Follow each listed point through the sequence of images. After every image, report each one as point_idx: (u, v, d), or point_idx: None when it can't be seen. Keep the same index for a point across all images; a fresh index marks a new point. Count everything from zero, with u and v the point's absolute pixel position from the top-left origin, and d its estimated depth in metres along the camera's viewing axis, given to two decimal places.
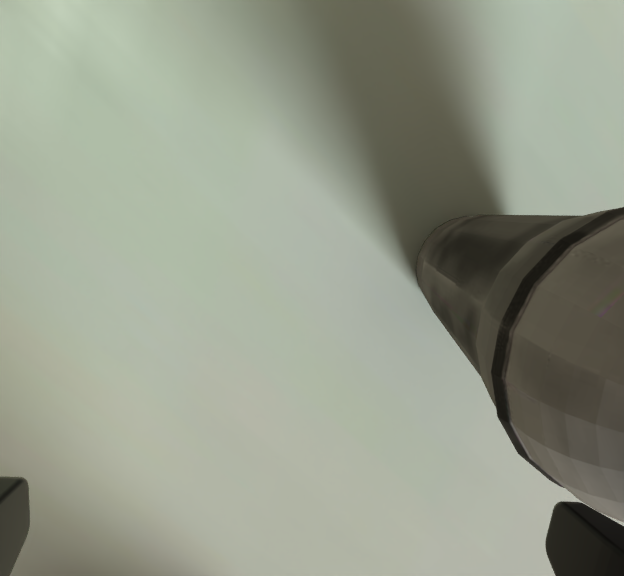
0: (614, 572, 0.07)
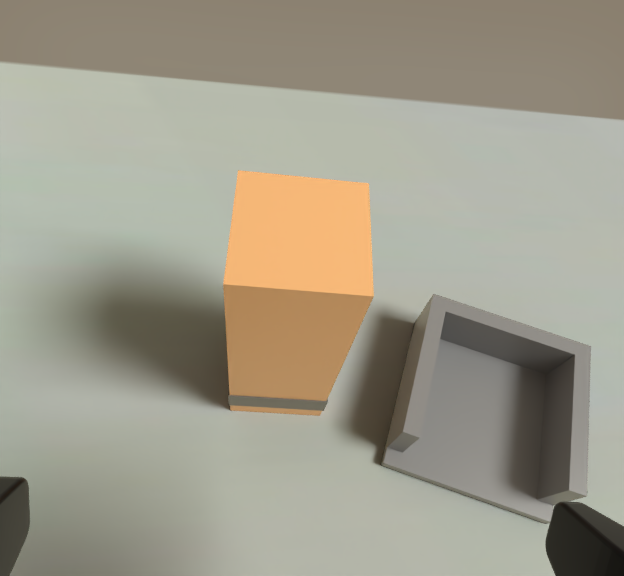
0: (614, 572, 0.07)
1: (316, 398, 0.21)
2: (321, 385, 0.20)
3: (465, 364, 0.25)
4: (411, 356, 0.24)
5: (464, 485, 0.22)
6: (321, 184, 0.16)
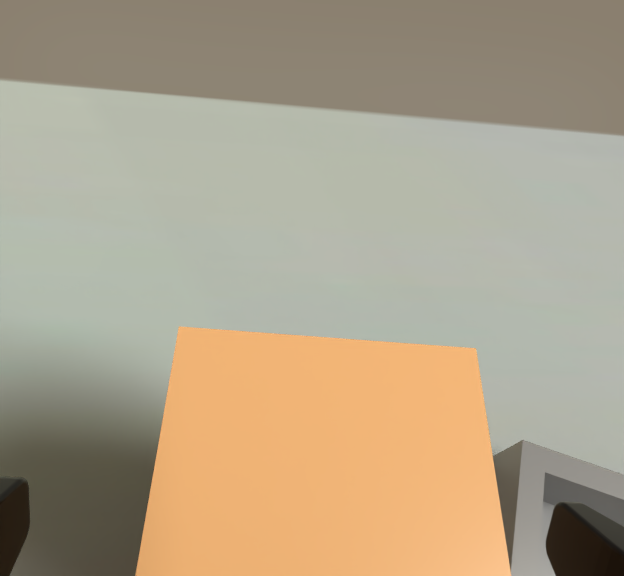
0: (614, 572, 0.07)
1: None
2: None
3: None
4: None
5: None
6: (371, 355, 0.07)
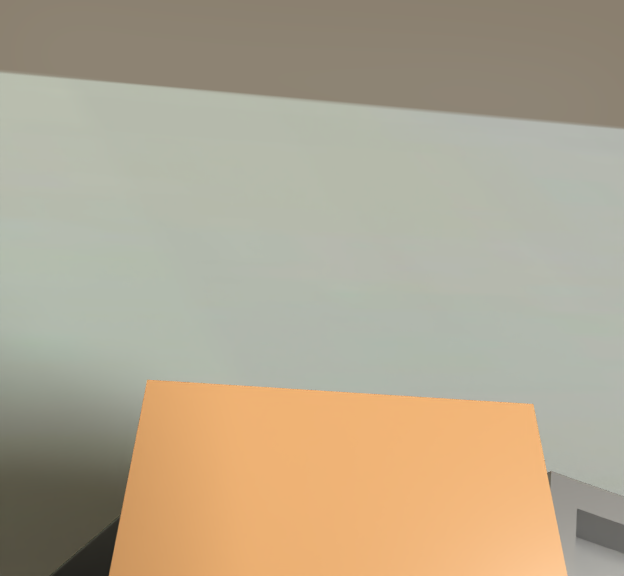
0: None
1: None
2: None
3: None
4: None
5: None
6: (398, 416, 0.05)
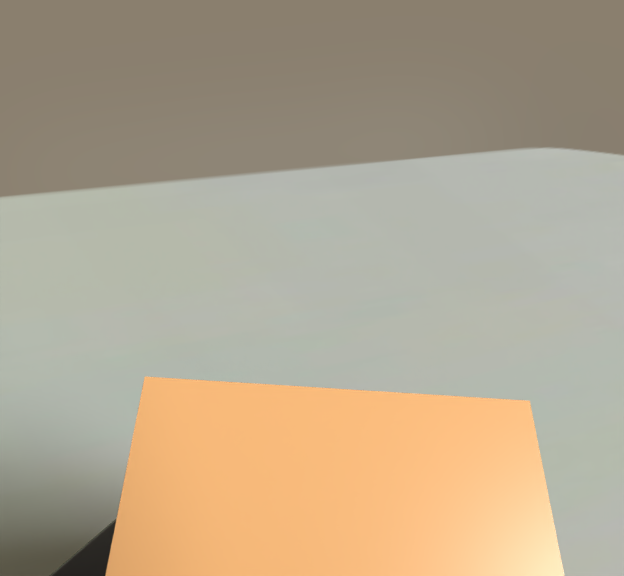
0: None
1: None
2: None
3: None
4: None
5: None
6: (395, 413, 0.05)
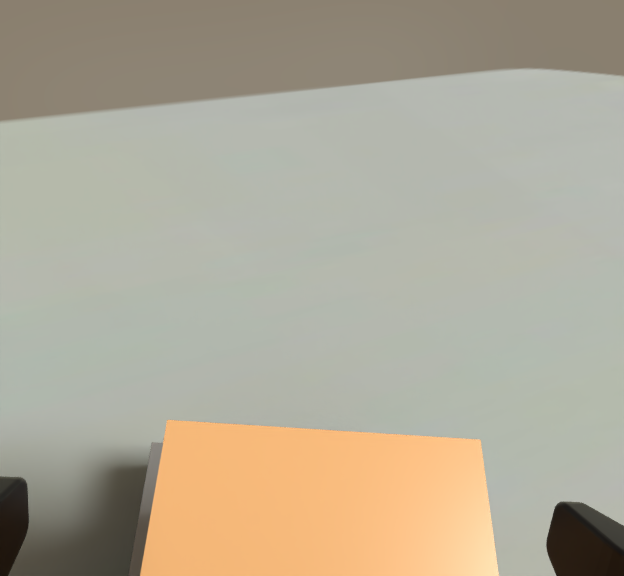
0: (615, 572, 0.07)
1: None
2: None
3: None
4: None
5: None
6: (369, 450, 0.06)
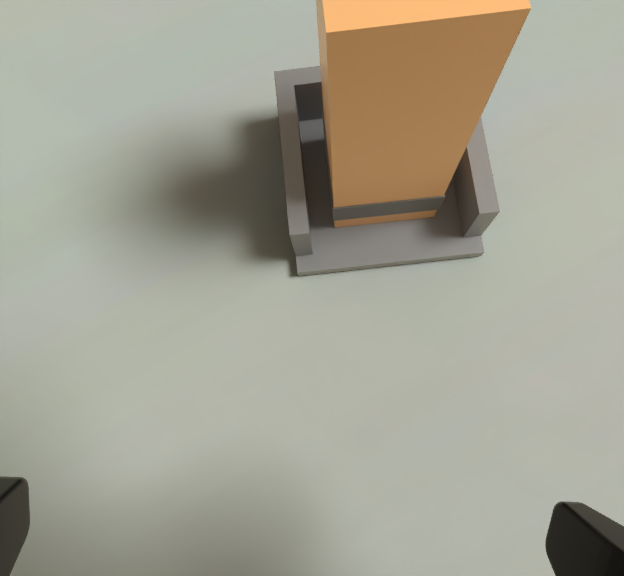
0: (614, 572, 0.07)
1: (432, 194, 0.18)
2: (440, 174, 0.17)
3: None
4: None
5: (385, 257, 0.20)
6: None
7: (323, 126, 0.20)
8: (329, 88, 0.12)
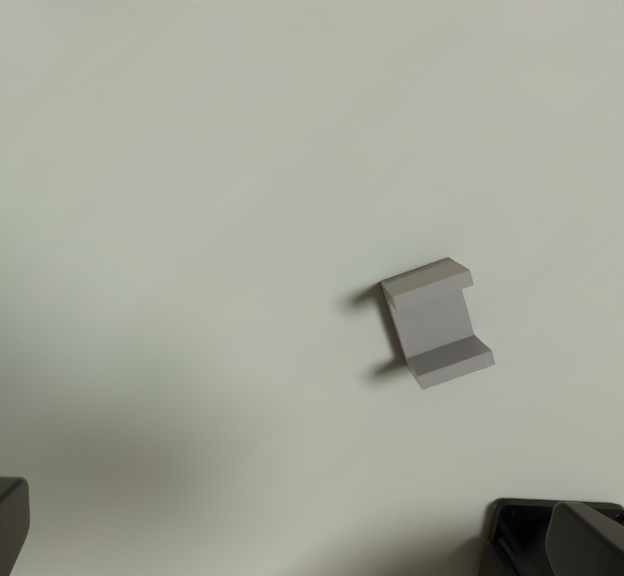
0: (614, 572, 0.07)
1: None
2: None
3: None
4: None
5: None
6: None
7: None
8: None
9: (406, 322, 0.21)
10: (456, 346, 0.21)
